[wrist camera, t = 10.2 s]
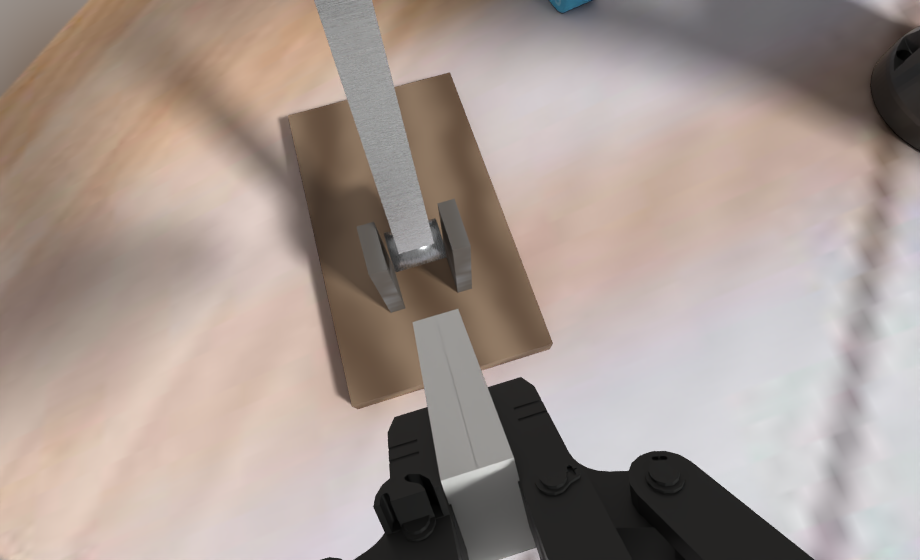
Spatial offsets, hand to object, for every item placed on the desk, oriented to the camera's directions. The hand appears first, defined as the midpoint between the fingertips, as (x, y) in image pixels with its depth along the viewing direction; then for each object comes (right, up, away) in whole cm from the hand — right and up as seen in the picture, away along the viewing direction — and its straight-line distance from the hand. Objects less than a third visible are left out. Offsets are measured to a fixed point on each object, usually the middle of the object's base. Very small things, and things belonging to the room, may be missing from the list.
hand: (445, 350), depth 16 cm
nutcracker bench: (-4, +7, +28) cm, 29 cm away
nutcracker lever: (-3, +5, +20) cm, 21 cm away
